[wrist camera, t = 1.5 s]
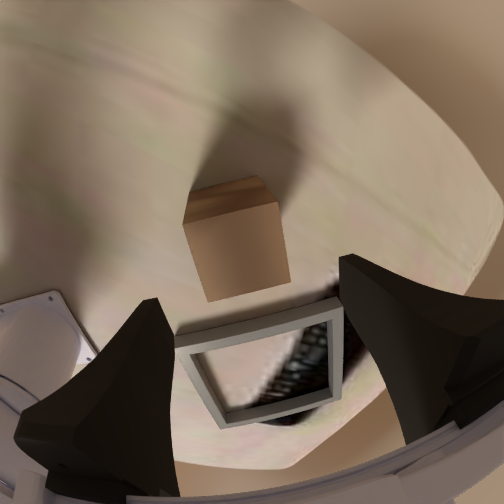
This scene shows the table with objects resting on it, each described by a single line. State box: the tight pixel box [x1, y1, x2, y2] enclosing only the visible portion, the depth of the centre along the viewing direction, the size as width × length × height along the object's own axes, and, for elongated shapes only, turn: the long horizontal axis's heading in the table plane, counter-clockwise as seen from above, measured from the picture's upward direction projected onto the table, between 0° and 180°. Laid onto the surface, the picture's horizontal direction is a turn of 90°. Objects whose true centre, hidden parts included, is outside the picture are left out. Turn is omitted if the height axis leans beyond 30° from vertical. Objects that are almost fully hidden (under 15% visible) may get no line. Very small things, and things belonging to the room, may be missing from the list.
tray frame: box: [174, 296, 344, 429], centre depth 26 cm, size 14×14×2 cm
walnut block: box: [182, 176, 291, 302], centre depth 17 cm, size 4×4×6 cm
